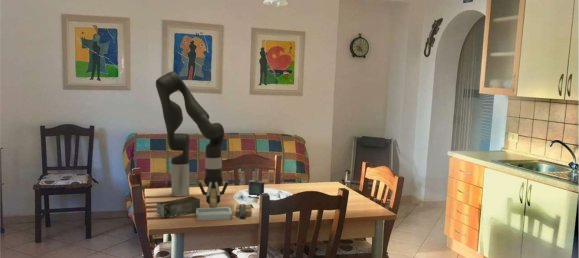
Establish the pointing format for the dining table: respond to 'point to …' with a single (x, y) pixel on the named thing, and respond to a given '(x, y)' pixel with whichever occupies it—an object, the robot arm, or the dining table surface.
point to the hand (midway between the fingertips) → (213, 203)
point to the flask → (255, 187)
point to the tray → (214, 213)
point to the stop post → (242, 211)
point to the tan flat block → (248, 210)
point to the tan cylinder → (213, 198)
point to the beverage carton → (178, 206)
